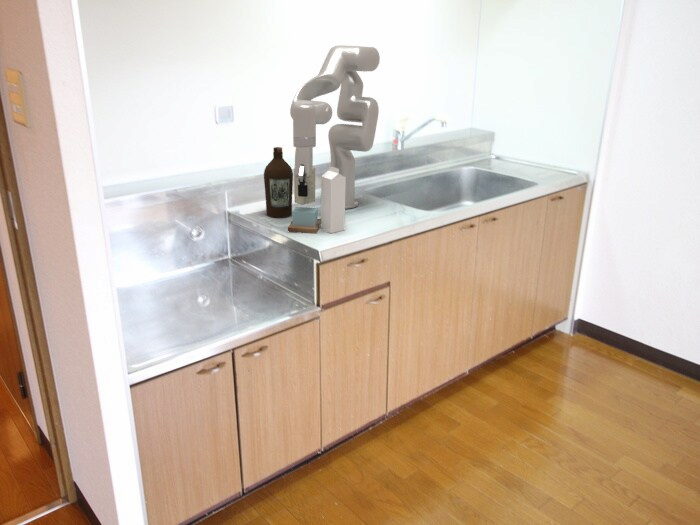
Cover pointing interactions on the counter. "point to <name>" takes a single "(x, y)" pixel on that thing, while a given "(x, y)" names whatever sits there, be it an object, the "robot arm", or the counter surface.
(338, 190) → the milk
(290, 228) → the board
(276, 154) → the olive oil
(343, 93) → the robot arm
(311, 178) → the skincare box
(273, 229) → the counter surface
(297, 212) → the brick
